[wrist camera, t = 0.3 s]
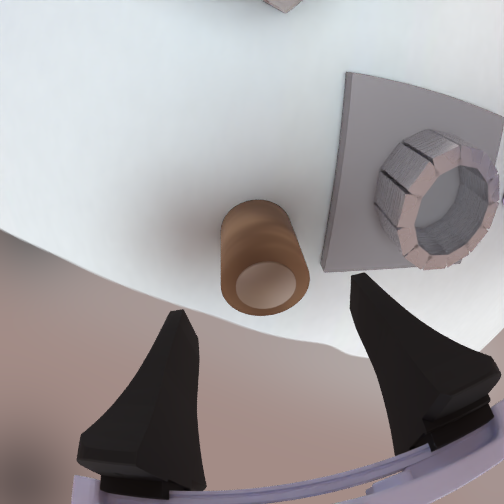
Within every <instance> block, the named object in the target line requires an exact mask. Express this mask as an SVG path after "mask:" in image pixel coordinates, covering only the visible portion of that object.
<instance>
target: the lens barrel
mask: <svg viewBox="0 0 504 504" xmlns="http://www.w3.org/2000/svg"><path fill="white" fill-rule="evenodd" d="M402 142H403V144H401V143H398V145H397V146H396V147H395V149H394V150H393V151H392V153H391V154H390V155H389V157H388V158H387V160H386V161H385V162H384V164H383V165H382V166H381V168H382V169H383V170H385V171H379V174H378V180H377V185H376V190H375V194H374V199H373V200H374V201H375V203H373V204H374V207H375V210H376V213H377V216H378V219H379V222H380V226H381V228H382V229H383V230H384V232H385V233H386V234H387V235H388V237H389V238H390V239H391V241H392V242H393V243H394V245H395V246H396V247H397V249H398V250H399V251H400V253H401V254H402V255H403V257H404V258H405V259H407V260H408V261H410V262H411V263H412V264H414V265H415V266H417V267H418V268H420V269H423V270H430V269H442V268H445V267H446V266H447V267H449V266H450V265H452V264H454V263H456V262H457V261H459V260H460V259H462V258H464V257H465V256H467V255H469V251H470V252H472V251H473V249H474V248H475V247H476V246H477V244H478V243H479V242H480V241H481V239H482V238H483V237H484V236H485V234H486V233H487V232H488V231H487V229H486V228H490V226H491V223H492V221H493V218H494V215H495V212H496V209H497V207H498V204H499V203H498V202H497V201H498V200H499V174H497V172H498V171H497V170H496V168H495V166H494V165H493V163H492V161H491V160H490V158H489V157H488V155H487V154H486V152H484V151H483V150H481V149H479V148H478V147H476V146H474V145H472V144H470V143H468V142H466V141H465V140H463V139H461V138H459V137H457V136H455V135H453V134H450V133H446V132H442V131H438V130H433V129H429V130H428V129H425V130H423V131H420V132H418V133H416V134H414V135H412V136H410V137H407V138H405V139H403V140H402ZM457 166H458V170H459V177H460V185H459V188H458V192H457V195H456V198H455V202H454V203H453V205H452V206H451V207H450V209H449V210H448V211H447V212H446V214H445V215H444V216H443V218H442V219H440V220H438V221H436V222H435V223H433V224H431V225H429V226H427V227H426V228H415V226H414V224H415V220H416V217H417V214H418V210H419V207H420V203H421V200H422V198H423V196H424V195H425V194H426V192H427V191H428V190H429V188H430V187H431V186H432V184H433V183H434V182H435V180H436V179H437V178H438V176H440V175H442V174H443V173H445V172H447V171H449V170H451V169H453V168H455V167H457Z"/></svg>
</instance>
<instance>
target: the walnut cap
mask: <svg viewBox="0 0 504 504" xmlns="http://www.w3.org/2000/svg"><path fill="white" fill-rule="evenodd" d="M309 281H310V275H309V271H308V268H307V265H306V262H305V260H304V257H303V254H302V251H301V249H300V246H299V243H298V241H297V238H296V235H295V232H294V230H293V227H292V225H291V222H290V219H289V217H288V215H287V214H286V212H285V211H284V210H283V209H282V208H281V207H280V206H278V205H277V204H275V203H272V202H270V201H266V200H250V201H246V202H243V203H241V204H239V205H237V206H235V207H234V208H233V209H231V210H230V211H229V212H228V214H227V215H226V216H225V218H224V220H223V223H222V226H221V291H222V294H223V297H224V298H225V300H226V301H227V303H228V304H229V305H230V306H232V307H233V308H234V309H236V310H238V311H240V312H242V313H245V314H249V315H255V316H266V315H273V314H277V313H280V312H283V311H285V310H287V309H289V308H291V307H292V306H294V305H295V304H296V303H298V302H299V301H300V300H301V299H302V297H303V296H304V295H305V293H306V291H307V289H308V286H309Z"/></svg>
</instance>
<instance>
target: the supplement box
mask: <svg viewBox="0 0 504 504" xmlns="http://www.w3.org/2000/svg"><path fill="white" fill-rule="evenodd" d="M263 1H264V2H266V3H268V4H270V5H272V6H273V7H275V8H277V9H278V10H280V11H282V12H284V13H288V12H289V11H290V10H292V9H293V8H294V7H295V6H296V5H298V4H299V3H300V2H302V1H303V0H263Z"/></svg>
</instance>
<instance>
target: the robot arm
mask: <svg viewBox="0 0 504 504" xmlns="http://www.w3.org/2000/svg"><path fill="white" fill-rule="evenodd" d="M503 205H504V199H503ZM350 311H351V314H352V317H353V321H354V324H355V327H356V329H357V332H358V334H359V336H360V338H361V341H362V343H363V345H364V347H365V349H366V352H367V354H368V356H369V358H370V361H371V363H372V365H373V367H374V370H375V373H376V375H377V378H378V381H379V384H380V388H381V391H382V395H383V399H384V402H385V407H386V411H387V415H388V419H389V424H390V429H391V434H392V440H393V446H394V453H395V457H392V458H389V459H386V460H383V461H380V462H377V463H374V464H371V465H367V466H364V467H361V468H357V469H354V470H350V471H346V472H343V473H339V474H335V475H331V476H326V477H322V478H317V479H313V480H307V481H302V482H296V483H290V484H284V485H277V486H270V487H262V488H253V489H241V490H226V491H225V490H224V491H203V490H204V489H205V488H206V487H207V486H206V481H205V476H204V470H203V465H202V459H201V452H200V444H199V434H198V421H197V392H198V376H199V343H198V337H197V335H196V333H195V331H194V329H193V327H192V325H191V323H190V322H189V319H188V317H187V315H186V313H185V311H184V310H183V309H182V310H176V311H171V312H170V313H169V315H168V316H167V319H166V321H165V323H164V325H163V327H162V329H161V331H160V332H159V335H158V336H157V338H156V340H155V342H154V344H153V346H152V348H151V350H150V352H149V353H148V355H147V357H146V359H145V360H144V362H143V364H142V366H141V367H140V369H139V370H138V372H137V373H136V375H135V377H134V378H133V379H132V381H131V382H130V384H129V385H128V387H127V388H126V389H125V390H124V392H123V393H122V394H121V395H120V397H119V398H118V399H117V400H116V402H115V403H114V404H113V405H112V406H111V407H110V408H109V409H108V410H107V411H106V412H105V413H104V415H103V416H101V417H100V419H98V420H97V421H96V422H95V423H94V424H93V425H92V426H91V427H89V428H88V429H87V430H86V431H85V432H84V433H82V434H81V437H80V442H79V448H78V455H77V462H78V463H79V464H80V465H82V466H84V467H85V468H88V469H89V470H91V471H93V472H96V473H98V474H100V475H101V481H100V480H97V479H93V478H88V477H83V476H78V475H75V476H74V483H73V491H72V501H71V504H266V503H274V502H282V501H288V500H295V499H301V498H306V497H311V496H317V495H321V494H326V493H330V492H335V491H339V490H343V489H347V488H350V487H354V486H358V485H361V484H364V483H368V482H371V481H374V480H377V479H380V478H383V477H386V476H389V475H392V474H395V473H397V472H400V471H402V472H400V473H398V474H396V475H393V476H391V477H389V478H386V479H384V480H381V481H379V482H376V483H374V484H373V485H372V487H371V488H369V489H367V490H366V496H362V497H359V498H355V499H351V500H347V501H343V502H338V503H334V504H430V503H432V502H434V501H436V500H438V499H440V498H442V497H444V496H446V495H448V494H450V493H452V492H453V491H455V490H457V489H458V488H461V487H462V486H464V485H466V484H467V483H469V482H471V481H472V480H474V479H476V478H477V477H479V476H480V475H482V474H484V473H485V472H487V471H488V470H490V469H491V468H492V467H494V466H495V465H497V464H498V463H500V462H501V461H503V460H504V399H503V400H501V401H500V402H498V403H497V404H495V405H494V406H492V407H491V408H490V406H489V404H488V403H489V402H490V397H489V395H488V393H489V392H490V391H491V390H492V388H493V387H494V386H495V385H496V384H497V382H498V381H499V379H500V377H501V372H500V371H499V369H498V367H497V365H496V363H495V362H494V360H493V359H492V357H491V356H488V355H486V354H483V353H480V352H477V351H475V350H472V349H470V348H468V347H465V346H463V345H461V344H459V343H457V342H455V341H453V340H451V339H449V338H448V337H446V336H444V335H442V334H440V333H439V332H437V331H435V330H434V329H432V328H431V327H429V326H428V325H426V324H425V323H423V322H422V321H420V320H419V319H418V318H416V317H415V316H414V315H412V314H411V313H410V312H409V311H407V310H406V309H405V308H404V307H402V306H401V305H400V304H399V303H398V302H397V301H395V300H394V299H393V298H392V297H391V296H390V295H388V294H387V293H386V292H385V291H384V290H383V289H382V288H381V287H380V286H379V285H378V284H377V283H375V282H374V281H373V280H372V279H371V278H370V277H369V276H368V275H367V274H366V273H360V274H356V275H352V276H351V293H350Z"/></svg>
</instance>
